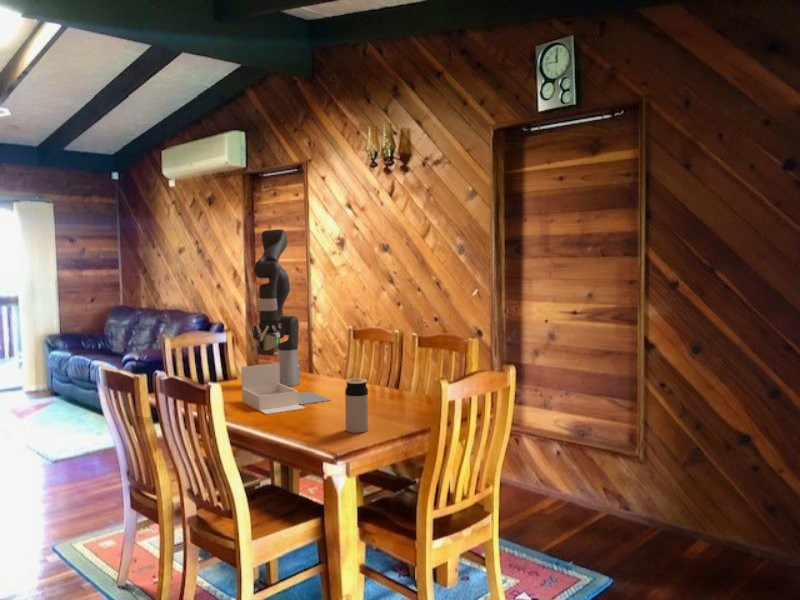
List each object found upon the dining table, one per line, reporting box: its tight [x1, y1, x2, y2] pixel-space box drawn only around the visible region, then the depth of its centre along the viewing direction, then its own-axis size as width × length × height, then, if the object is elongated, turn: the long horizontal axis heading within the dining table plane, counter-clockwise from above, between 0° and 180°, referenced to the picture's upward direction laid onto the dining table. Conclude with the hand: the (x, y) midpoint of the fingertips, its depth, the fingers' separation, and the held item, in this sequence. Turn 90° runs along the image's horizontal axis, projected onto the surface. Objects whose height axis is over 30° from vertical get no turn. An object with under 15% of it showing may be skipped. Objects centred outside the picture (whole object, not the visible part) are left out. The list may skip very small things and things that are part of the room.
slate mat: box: [298, 391, 332, 406], centre depth 281 cm, size 14×20×1 cm
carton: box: [240, 362, 307, 416], centre depth 268 cm, size 17×27×15 cm, turn 34°
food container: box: [255, 329, 280, 357], centre depth 271 cm, size 12×6×10 cm, turn 59°
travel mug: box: [344, 378, 369, 434], centre depth 229 cm, size 8×8×18 cm
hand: (269, 348), depth 270 cm, fingers closed on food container, 6 cm apart
